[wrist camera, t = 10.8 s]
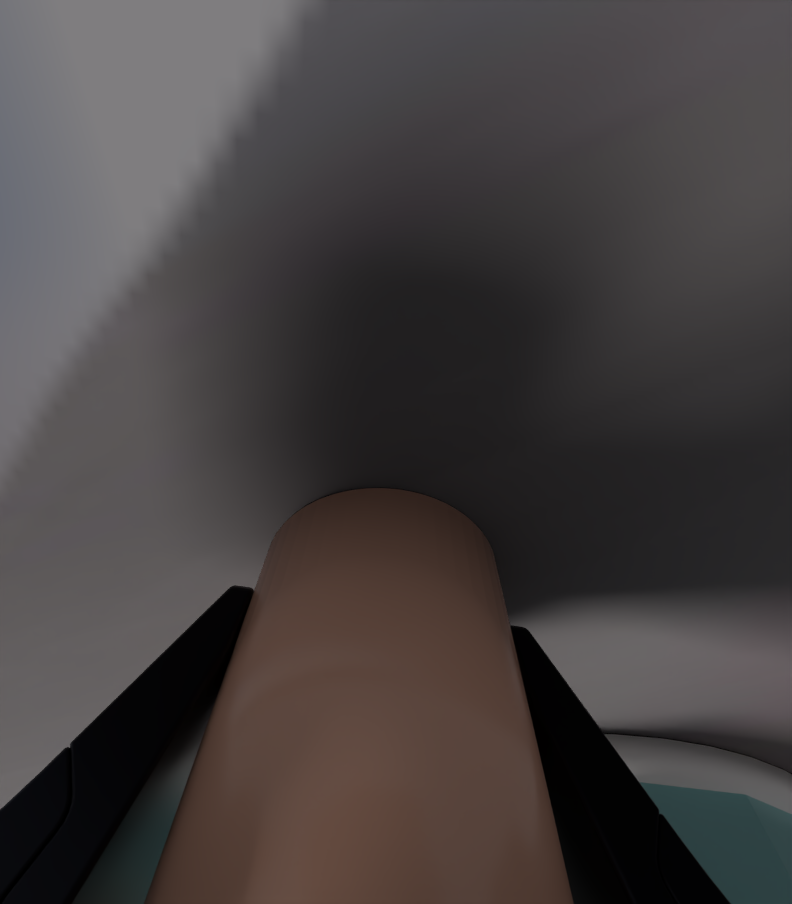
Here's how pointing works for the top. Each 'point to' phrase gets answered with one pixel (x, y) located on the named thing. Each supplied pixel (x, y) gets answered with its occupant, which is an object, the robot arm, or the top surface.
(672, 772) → the groove tray
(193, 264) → the top surface
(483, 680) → the pinkish brown short cylinder
